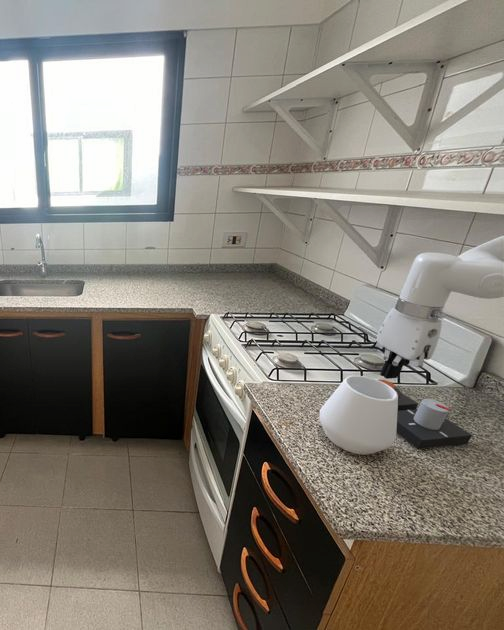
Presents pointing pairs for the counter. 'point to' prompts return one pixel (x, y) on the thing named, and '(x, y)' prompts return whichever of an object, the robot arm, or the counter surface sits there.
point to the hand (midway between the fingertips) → (388, 376)
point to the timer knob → (431, 414)
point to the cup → (361, 415)
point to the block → (405, 401)
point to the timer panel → (429, 432)
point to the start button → (388, 383)
